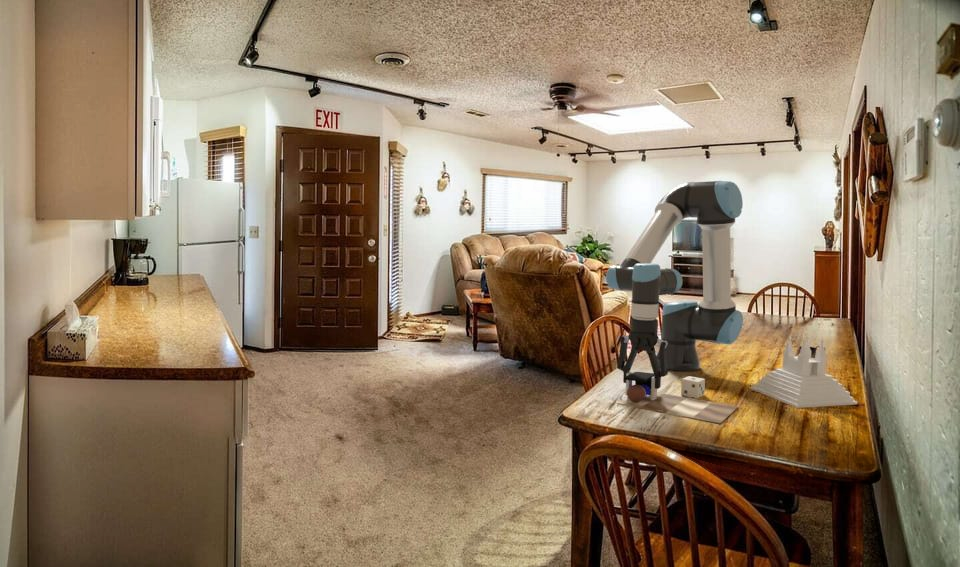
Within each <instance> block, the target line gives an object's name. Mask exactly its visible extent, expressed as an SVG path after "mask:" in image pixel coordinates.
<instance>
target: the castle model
mask: <svg viewBox="0 0 960 567" xmlns="http://www.w3.org/2000/svg"><path fill="white" fill-rule="evenodd" d="M788 336H789V337H788V339H787V341H788V342H786V345H785V348H784V349H783V352H782V354H783V355H782V356H783V357H782V368H775V369H774V370H773V371H769V373H765V376H762V379H758V380H757V383H755V382H754V385H751V386H750V390H753V391H754V392H757V393H761V394H763V395H765V396H768V397H770V398H772V399H774V400H778V401H780V402H782V403H784V404H787V405H789V406H792V407H794V408H797V409H799V408H800V409H801V408H802V409H803V408H816V407H819V408H820V407H836V406H850V405H851V406H852V405H858V401H857V400H854V397H853V396H851V392H850V391H848V390H847V388H846V387H843V384H842V383H840V382H839V379H835V378H834V376H833V375H831V374H827V373H826V372H827V371H826V370H827V358H828V357H827V356H828V355H827V353H826V350H825V349H826V347H825V346H824V338H823V337H821V340H820V345H818V346H819V347H818V348H817V351H816V355H815V358H812V357H811V349H810V347H811V345H810V342H809V336H808V334H807V333H806V336H805V338H803V341H802V342H803V343H802V346H803V347H801V350H800V353H799V354H798V353H797V355H795V351H794V349H793V348H794V346H793V343H792V338H791V334H788Z"/></svg>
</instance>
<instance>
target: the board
mask: <svg viewBox="0 0 960 567" xmlns="http://www.w3.org/2000/svg"><path fill="white" fill-rule="evenodd" d="M616 405H621V406H626V407H631V408H636V409H641V410H647V411H652V412H656V413H662V414H667V415H672V416H677V417H681V418H687V419H692V420H697V421H701V422H707V423H711V424H717V425H721V424H723V422H724V421H725V420H727V419H728V418H729V417H730V416H731V415H732V414H733V413H734V412H736V410H738V409H739V406H736V405H730V404H726V403H719V402H714V401H707V400H702V399H699V398H698V399H697V398H692V397H687V396H682V395H676V394H675V395H674V394H671V393H669V394H668V393H663V392H658V391H657V399H655V400H651V395H645V398H644V399H643V400H642V401H641V402H632V401H631V400H630V399H629V398H628V396H626V397H625V398H622V399H621V400H619V401H617V402H616Z"/></svg>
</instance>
